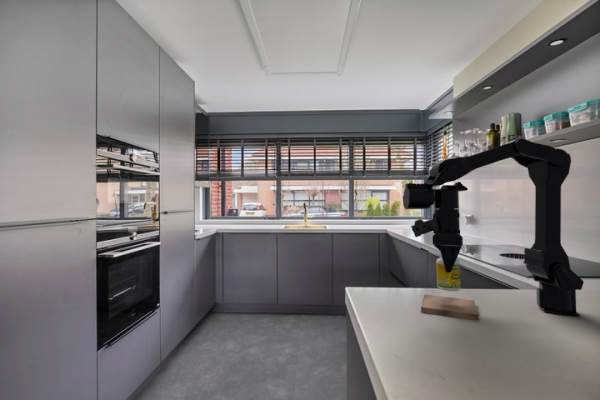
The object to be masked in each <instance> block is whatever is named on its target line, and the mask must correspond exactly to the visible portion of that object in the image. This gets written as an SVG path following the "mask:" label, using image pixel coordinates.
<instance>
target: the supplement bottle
mask: <svg viewBox="0 0 600 400" xmlns="http://www.w3.org/2000/svg"><path fill="white" fill-rule="evenodd" d="M438 256H439V258H437V259H436V261H435V263H436V265H435V266H436V286H437V289H439V290H442V291H447V292H457V291H458V292H459V291H460V290H461V265H460V264H461V263H460V260H459V259H458V258H457V259H456V261H455V264H454V266H453V268H452V271H451V273H447V272H446V271H445V267H444V263H443V259H442V255H441V251H440V250H439V249H438Z"/></svg>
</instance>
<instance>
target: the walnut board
mask: <svg viewBox="0 0 600 400" xmlns="http://www.w3.org/2000/svg"><path fill="white" fill-rule="evenodd" d="M420 312H421V313H425V312H429V313H428V314H432V313H435V314H434V315H439V314H440V316H448V317H455V318H461V319H462V318H463V319H467V320H475V321H479V312H478V309H477V306H476V302H475V300H474V299H468V298H460V297H459V298H458V297H449V296H442V295H441V296H440V295H433V294H424V295H423V298H422V300H421V305H420Z"/></svg>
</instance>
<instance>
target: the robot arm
mask: <svg viewBox="0 0 600 400" xmlns="http://www.w3.org/2000/svg"><path fill="white" fill-rule="evenodd" d="M509 158H511V159H513V161H515V162H516V163H517V164H518V165H520V166H521V167H523V168H526V169H527V171H528V177H529V178H530V180H531V182H532V183H533V185H534V187H535V191H534V192H535V207H534V208H535V211H534V214H535V215H534V216H535V217H534V218H535V219H534V222H535V223H534V243H533V244H532V246H531V247H529V248H528V247H525V248H524V251H523V252H524V261H523V264H525V266H526V270H527V271H528V272H529V273H530V274H531V276H532V278H533V281H535V282H537V283H538V287H537V288H536V305H537V306H539V308H540V309H541V310H542V311H543V313H544V312H546V313H551V314H559V315H567V316H573V317H574V316H575V317H579V316H580V315H581V314H580V312H578V311H577V297H576V296H577V294H576V293H577V292H576V291H582V288H583V285H584V284H585V283H584V282H585V281H584V279H582V278H581V277H580V276H578V275H577V274H576V272H574V271H573V270H572V269H571V265H570V259H569V258H570V257H569V256H568V254H567V252H566V251H565V248H564V247H563V246H562V242H561V241H562V240H561V239H562V233H561V232H562V231H561V230H562V223H561V222H562V185H563V184H564V182H565V180H566V179H567V177H568V176H569V174H570V169H571V164H572V157H571V154H570V153H568V152H567V151H566V150H564V149H562V148H555V147H554V146H551V145H548V144H543V143H537V142H532V141H530V140H528V139H526V138H525V139H524V138H522V137H521V138H516V139H513V140H511V141H508V142H506V143H505V144H502V145H499V146H496V147H495V146H494V147H493V148H490V149H487V150H484V151H480V152H478V153H476V154H473V155H467V156H458V157H452V158H447V159H444V160H441V161H439V162H437V163H435V164H433V165H432V166H431V168H430V174H429V176H428V177H427V179H426V180H425V181H424V183H413V182H408V183H405V185H404V187H405V188H404V191H403V195H402V205H403V208H404V209H405V210H429V209H430V208H431V206H433V208H434V209H433V212H434V213H433V214H432V218H431V219H428V220H425V221H424V220H423V219H422V218H420V219H417V220H415V221H414V224H413V225H410V228H411V231H412V232H413V235H414V237H415V238H418V237H421V236H422V235H425V234H428V233H432V234H433V235H432V245H433V246H434V248H436V249H437V250H438V251H439V250H440V251H441V255H442V259H443V263H444V267H445V271H446V272H447V273H451V271H452V268H453V266H454V264H455V261H456V259H457V260H458V256H459V254H460V252H461V249H462V247H463V246H464V243H463V242H464V239H463V236H462V235H461V229H460V228H461V227H460V225H461V224H460V217H461V214H460V198H459V197H460V195H459V192H466V191H468V190H469V188H468V187H467V186H466V185H464V184H462V182H461V181H457V180H460V179H461V178H463V177H465V176H467V175H468V174H470V172H473V171H475V170H476V169H480V168H483V167H486V166H489V165H492V164H494V163H497V162H500V161H504V160H506V159H509ZM455 181H457V182H455ZM452 182H455V183H454V184H447V183H452ZM439 186H440V188H435V187H439Z"/></svg>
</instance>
